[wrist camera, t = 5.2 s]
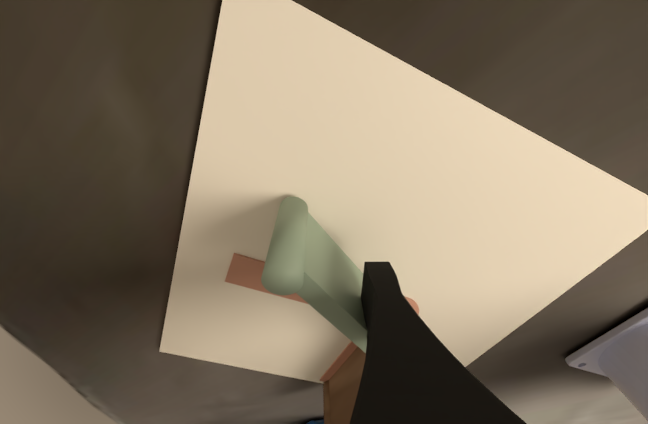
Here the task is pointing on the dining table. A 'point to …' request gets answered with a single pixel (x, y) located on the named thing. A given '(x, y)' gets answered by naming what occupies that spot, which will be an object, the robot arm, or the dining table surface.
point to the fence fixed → (343, 389)
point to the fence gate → (314, 270)
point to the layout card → (372, 198)
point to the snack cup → (316, 422)
